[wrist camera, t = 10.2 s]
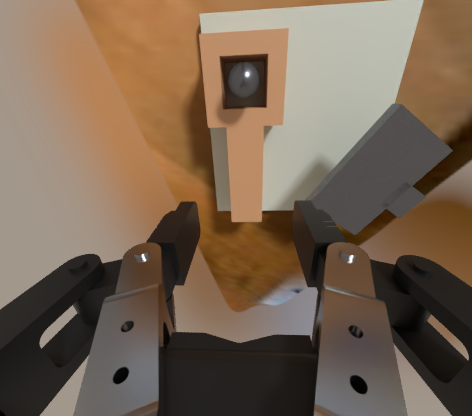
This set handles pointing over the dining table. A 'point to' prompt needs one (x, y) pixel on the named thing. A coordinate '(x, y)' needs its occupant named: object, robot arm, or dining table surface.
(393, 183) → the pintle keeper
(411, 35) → the board
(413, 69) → the dining table surface
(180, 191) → the dining table surface
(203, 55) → the link
